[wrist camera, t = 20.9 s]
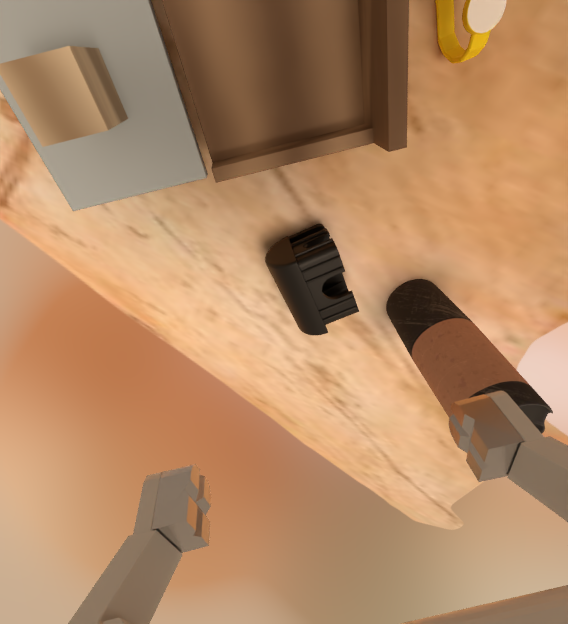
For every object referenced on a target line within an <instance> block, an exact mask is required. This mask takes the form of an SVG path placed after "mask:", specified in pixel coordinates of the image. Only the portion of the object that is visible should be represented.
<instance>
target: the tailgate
mask: <svg viewBox="0 0 568 624" xmlns="http://www.w3.org/2000/svg"><path fill="white" fill-rule="evenodd" d="M66 46H77V47H89V48H99V51H100V53H101V55H102V58H103V60H104V62H105V65H106V67H107V69H108V72H109V74H110V77H111V79H112V81H113V84H114V86H115V88H116V91H117V93H118V95H119V98H120V100H121V103H122V105H123V107H124V110H125V112H126V114H127V117H128V119H127V120H125V121H123V122H122V123H120V124H118V125H117V126H115V127H113V128H111V129H110V130H108V131H104V132H100V133H96V134H92V135H88V136H84V137H80V138H76V139H72V140H69V141H65V142H61V143H57V144H53V145H49V146H45V147H42V145H41V143H40V142H39V140H38V138H37V136H36V135H35V133H34V131H33V130H32V128H31V126H30V124H29V123H28V121H27V119H26V118H25V116H24V114H23V112H22V111H21V109H20V107H19V106H18V104H17V102H16V100H15V99H14V97H13V95H12V94H11V92H10V90H9V88H8V87H7V85H6V83H5V82H4V80H3V78H2V76H1V75H0V90H1V92H2V93H3V95H4V97H5V98H6V100H7V102H8V103H9V105H10V107H11V108H12V110H13V112H14V113H15V115H16V117H17V118H18V120H19V122H20V123H21V125H22V127H23V128H24V130H25V132H26V133H27V135H28V137H29V138H30V140H31V142H32V143H33V145H34V147H35V148H36V150H37V152H38V154H39V155H40V157H41V159H42V160H43V162H44V164H45V165H46V167H47V169H48V170H49V172H50V174H51V175H52V177H53V179H54V180H55V182H56V184H57V185H58V187H59V189H60V190H61V192H62V194H63V195H64V197H65V199H66V200H67V202H68V204H69V205H70V207H71V209H72V210H73V211H76V210H80V209H84V208H88V207H92V206H96V205H100V204H104V203H108V202H112V201H116V200H120V199H124V198H128V197H132V196H136V195H140V194H144V193H148V192H152V191H156V190H160V189H164V188H168V187H172V186H176V185H180V184H184V183H188V182H192V181H196V180H200V179H204V178H207V175H208V173H207V170H206V167H205V164H204V161H203V158H202V155H201V152H200V149H199V146H198V143H197V140H196V137H195V133H194V130H193V127H192V124H191V121H190V118H189V115H188V112H187V109H186V106H185V103H184V100H183V97H182V94H181V91H180V88H179V85H178V82H177V78H176V75H175V72H174V69H173V66H172V63H171V60H170V57H169V54H168V51H167V48H166V45H165V42H164V39H163V36H162V33H161V30H160V27H159V23H158V20H157V17H156V14H155V11H154V8H153V5H152V2H151V0H0V64H1V63H5V62H8V61H12V60H16V59H20V58H24V57H28V56H32V55H35V54H39V53H43V52H47V51H51V50H55V49H59V48H62V47H66Z"/></svg>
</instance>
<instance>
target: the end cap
mask: <svg viewBox="0 0 568 624" xmlns="http://www.w3.org/2000/svg"><path fill="white" fill-rule="evenodd" d="M329 237H330V235H329V233H328V231H327V229H326V228H325V227H324V226H323V225H322V224H317V225H315V226H312V227H310V228H308V229H306V230H303V231H301V232H299V233H297V234H294V235H292V236H290V237H286V238H284V239H282V240H280V241H279V242H277V243H276V244H275V245H273V246H272V247H271V248H270V250H269V251H268V253H267V254H266V257H265V262H266V264H267V266H268V268H269V270H270V272H271V274H272V276H273V278H274V280H275V282H276V284H277V286H278V288H279V290H280V292H281V294H282V296H283V298H284V300H285V302H286V304H287V306H288V307H289V309H290V311H291V313H292V315H293V317H294V319H295V321H296V323H297V325H298V327H299V329H300V330H301V331H302V332H304V333H306V334H309V335H322V334H325V333H328V331H327V328H326V324H329V323H331V322H334V321H336V320H339V319H341V318H344V317H346V316H349V315H351V314H354V313H356V312H359V310H358V307H357V304H356V301H355V298H354V295H353V293H352V291H348V289H347V286H346V283H345V280H344V277H343V275H342V272H344V271H345V269H344V267H343V264H342V261H341V258H340V255H339V252H338V250H337V247H336V245H335V243H334V241H333V239H332V238H331V239H330V238H329Z"/></svg>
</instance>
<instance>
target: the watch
mask: <svg viewBox="0 0 568 624" xmlns="http://www.w3.org/2000/svg"><path fill="white" fill-rule="evenodd" d="M435 3H436V13H437V32H438V44H439V46H440V49H441V51H442V53H443V55H444V56H445V57H446V58H447V59H448V60H449V61H450V62H451V63H460V62H463V61H465V60H468V59H470V58H473V57H475V56H476V55H478V54H479V53H480V51H481V50H482V49H483V48H484V46H485V45H486V43H487V41H488V37H489V34H490V31H491V30H492V29H493V28H494V27H495V26H496V25H497V24H498V22H499V21H500V19H501V17H502V16H503V13H504V10H505V7H506V0H466V2H465V5H464V8H463V13H462V21H463V26H464V28H465V29H466V31H467V32H469V33H470V34H471V37H470V41H469V45H468V48H467V49H466V50H464V49H463V48H462V47H461V46H460V45H459V42H458V40H457V37H456V35H455V33H454V0H436V1H435Z"/></svg>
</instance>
